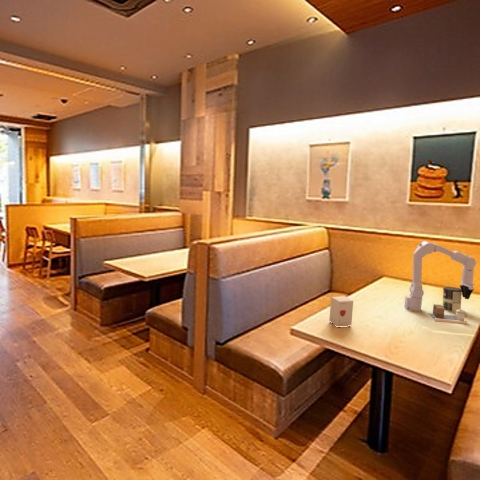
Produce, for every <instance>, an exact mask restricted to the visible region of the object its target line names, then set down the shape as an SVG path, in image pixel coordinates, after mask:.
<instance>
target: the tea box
mask: <svg viewBox="0 0 480 480" xmlns="http://www.w3.org/2000/svg"><path fill="white" fill-rule="evenodd" d="M445 311H446V310H445V308H444V307H443V304H437V303H434V304H433V306H432V314H433V315H434V316H435V317H436V318H444V315H445Z"/></svg>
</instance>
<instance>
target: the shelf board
mask: <svg viewBox="0 0 480 480" xmlns="http://www.w3.org/2000/svg"><path fill="white" fill-rule="evenodd" d="M428 315H429V316H430V318H432V320H434V322H445V323H456V324H464V325H465V324H466V325H467V323H468V322H467V320H464V321H459V320H455V317H456V315H453V314H452V315H450V314H444V318H436V317H435V316H434V315H433V313H430V312H429V313H428Z"/></svg>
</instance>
